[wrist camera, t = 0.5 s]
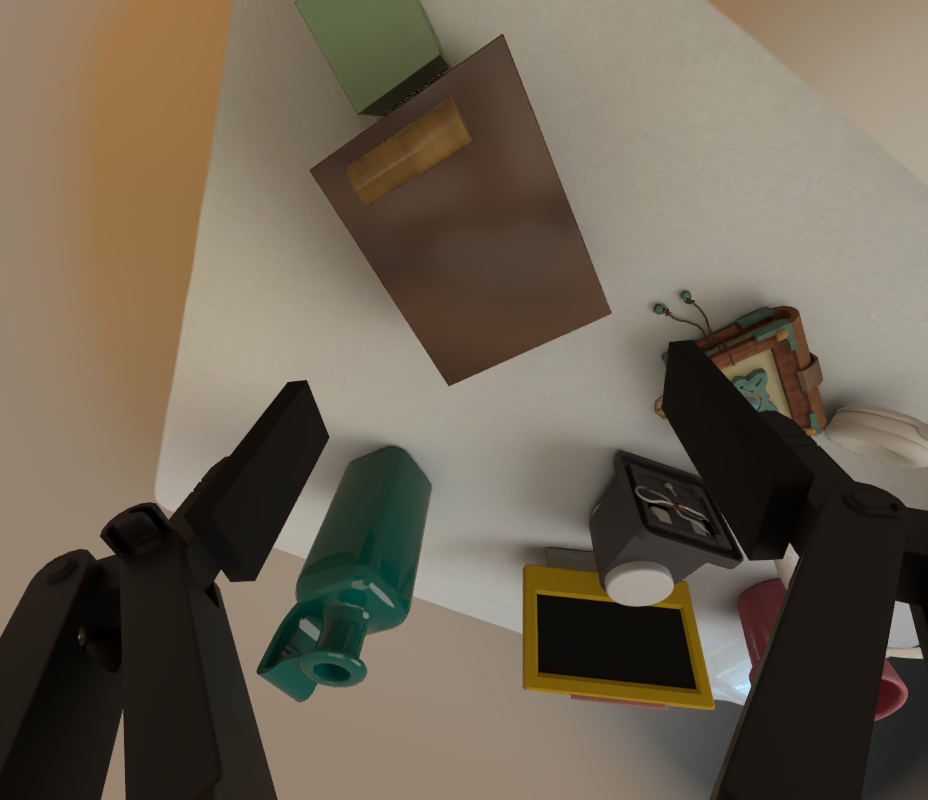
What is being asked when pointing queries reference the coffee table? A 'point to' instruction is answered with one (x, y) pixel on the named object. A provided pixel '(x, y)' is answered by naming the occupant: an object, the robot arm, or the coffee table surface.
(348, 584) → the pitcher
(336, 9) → the block
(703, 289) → the coffee table surface
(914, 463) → the headphones
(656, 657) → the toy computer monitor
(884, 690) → the flower pot
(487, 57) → the bin lid
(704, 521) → the light fixture
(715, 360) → the decorative book
